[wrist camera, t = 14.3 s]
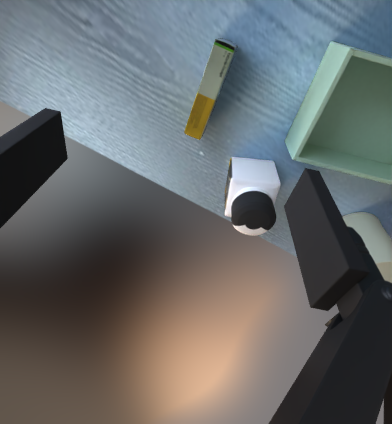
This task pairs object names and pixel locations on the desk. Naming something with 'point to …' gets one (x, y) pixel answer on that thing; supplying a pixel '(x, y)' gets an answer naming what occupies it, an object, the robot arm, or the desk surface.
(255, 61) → the desk surface
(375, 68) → the bin
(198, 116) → the medication box
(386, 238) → the can
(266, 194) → the medicine bottle
